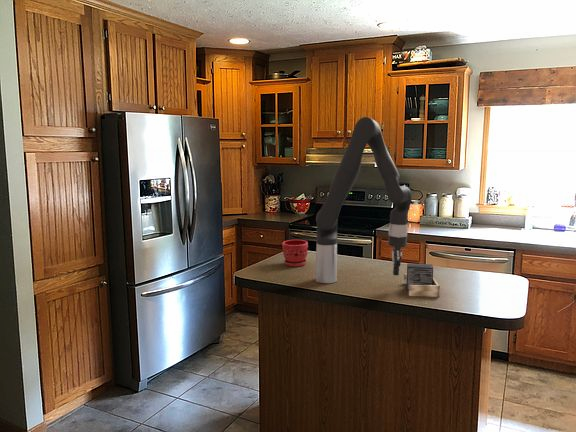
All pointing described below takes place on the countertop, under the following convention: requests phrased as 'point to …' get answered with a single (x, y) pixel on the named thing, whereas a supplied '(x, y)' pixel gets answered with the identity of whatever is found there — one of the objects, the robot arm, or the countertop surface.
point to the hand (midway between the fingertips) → (395, 274)
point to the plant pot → (295, 252)
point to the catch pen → (423, 289)
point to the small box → (419, 274)
